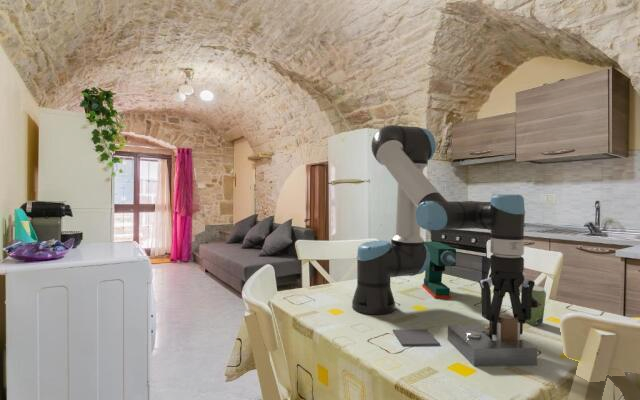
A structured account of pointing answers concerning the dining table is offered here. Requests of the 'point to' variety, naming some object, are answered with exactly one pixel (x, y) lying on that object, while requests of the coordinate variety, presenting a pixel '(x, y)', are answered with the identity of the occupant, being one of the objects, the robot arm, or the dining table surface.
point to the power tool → (438, 269)
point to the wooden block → (508, 327)
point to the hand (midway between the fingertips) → (505, 346)
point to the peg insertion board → (490, 347)
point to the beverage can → (537, 305)
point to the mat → (415, 337)
